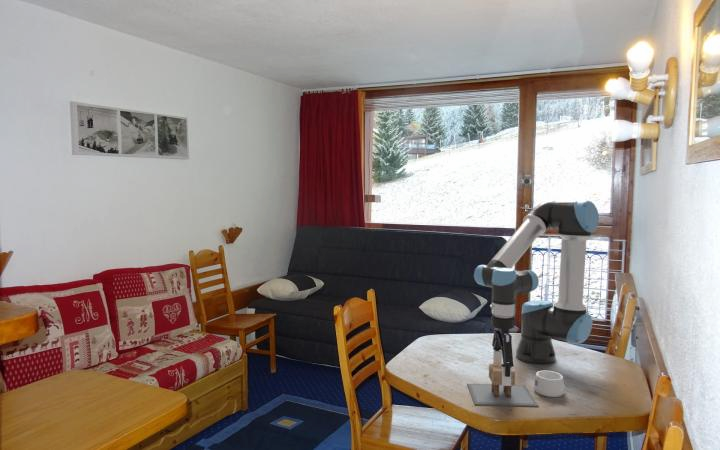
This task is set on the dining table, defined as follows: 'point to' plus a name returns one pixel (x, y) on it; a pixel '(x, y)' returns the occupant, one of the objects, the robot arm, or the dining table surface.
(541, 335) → the robot arm
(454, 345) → the dining table surface
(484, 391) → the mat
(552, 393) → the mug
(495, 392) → the small wooden stool
